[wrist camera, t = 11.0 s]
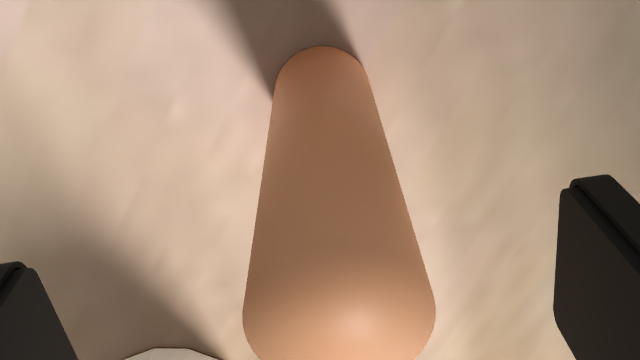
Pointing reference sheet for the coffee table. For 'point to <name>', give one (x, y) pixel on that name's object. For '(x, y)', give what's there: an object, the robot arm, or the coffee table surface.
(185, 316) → the coffee table surface
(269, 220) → the dowel
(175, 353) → the white cup
